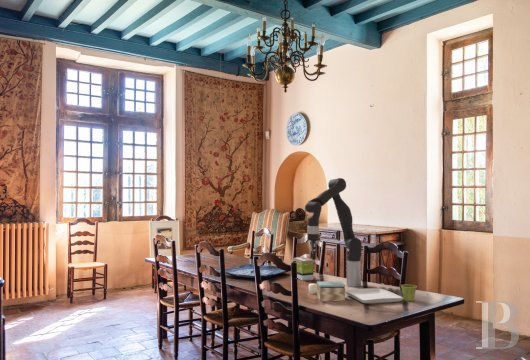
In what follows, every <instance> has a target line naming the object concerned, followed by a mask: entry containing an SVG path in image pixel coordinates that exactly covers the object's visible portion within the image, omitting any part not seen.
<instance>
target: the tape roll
mask: <svg viewBox="0 0 530 360" xmlns="http://www.w3.org/2000/svg"><path fill="white" fill-rule="evenodd" d="M308 294H310V295H317V283H309V284H308Z"/></svg>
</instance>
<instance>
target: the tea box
mask: <svg viewBox="0 0 530 360" xmlns="http://www.w3.org/2000/svg"><path fill="white" fill-rule="evenodd" d="M293 261H296V262H297V278H298V279H297V278H296V279H297V280H301V281H302V282H303V281H314V260H313V259H312V258H307V257H306V256H301V257H300V256H299V257H292V262H293Z"/></svg>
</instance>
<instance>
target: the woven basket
mask: <svg viewBox="0 0 530 360" xmlns="http://www.w3.org/2000/svg"><path fill="white" fill-rule="evenodd" d="M316 284H317V283H316ZM345 287H346V286H345ZM345 287H320V286H319V285H318V284H317V294H316V297H317V299H318V301H319V303H321V302H328V303H330V302H331V301H340V302H346V293H345V290H346V288H345Z"/></svg>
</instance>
